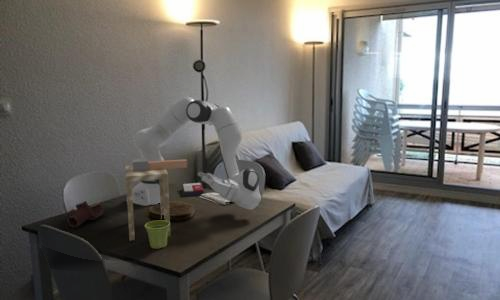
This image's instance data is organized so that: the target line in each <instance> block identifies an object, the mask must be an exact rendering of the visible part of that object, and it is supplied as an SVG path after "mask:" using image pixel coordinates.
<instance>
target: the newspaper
mask: <svg viewBox="0 0 500 300" xmlns="http://www.w3.org/2000/svg"><path fill="white" fill-rule="evenodd" d="M199 198H200V199H201V198H202V199H205V200H208V201H211V202H212V203H215V204H218V205H224V206H226V205H231V204H230V203H231V202H232V201H228V200H226V199H224V198H222V197H220V196H219V193H217V192H216V191H214V192H206V193H205V192H204V194H202V195H201V196H199ZM226 202H227V203H226Z"/></svg>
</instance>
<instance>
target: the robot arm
mask: <svg viewBox="0 0 500 300" xmlns="http://www.w3.org/2000/svg"><path fill="white" fill-rule="evenodd" d="M190 121H191V122H193V123H197V124H201V125H210V126H211V125H212V126H213V127H214V129H215V132H216V136H217V138H218V141H219V147H220V154H221V155H220V156H221V159H222V163H223V167H224V170H225V174H226V179H222V178H220V177H218V176H216V175H214V174H212V173H210V172H207V173H205V172H202V171H198V173H197V175H198V177H200V178H201V181H202V182H204V183H205V184H207V185H208V186H209V187H210V188H211V189H212V190H213V191H214V192H215V193H219V196H220V197H222V198H224V199H226V200H228V201H231V202H232V203H234V204H236V205H237V206H239V207H242V208H243V209H246V210H250V211H251V210H254V209H256V208H257V207H258V206H259V204H260V203H261V201H262V195H261V193H260V187H259V186H260V185H259V184H260V180H261V179H260V175H259V173H258V171H257V170H255V169H254V168H252V167H248V168H244V169H243V170H241V171H240V170H239V167H238V163H237V158H236V153H237V149H238V147H239V145H240V144H241V142H242V139H243V136H242V134H243V133H242V129H241V128H240V125H239V123H238V121H237V118H236V117H235V115H234V113H233V112H232V110H231V108H230V107H228V106H224V105H223V106H218V105H217V104H215V103H213V102H210V101H206V100H201V99H194V98H193V97H191V96H185V97H183V98H180V99H179V100H178V101H176V102H175V103H173V105H171V106H170V107H169V108H168V109H167V110H166V111H165V112H163V113H162V114H161V115H160V116H159V119H158V121H157V122H155V124H154V125H152V126H149V127H147V128H143V129H142V128H141V129H140V130H139V131H137V132H136V133H135V134H134V136H133V139H132V142H133V144H134V147H135V148H136V149H137V150H138V152H139V155H140V157H141V158H140V159H148V162H149V161H165V159H164V157H163V156H162V154H161V150H160V147H164V146H165V145H166V144H167V143H168V142H169V141H170V140H171V139H172V137H173V136H174V135H175V134H176V133H177V132H178V131H179V130H180V129H182V128H183V126H185V125H187V123H188V122H190ZM132 199H133V204H136V205H140V206H150V205H153V206H154V205H159V204H158V203H160V183H159V179H155V180H142V181H139V183H137V185H135V186H134V187H132ZM126 202H127V199H126Z"/></svg>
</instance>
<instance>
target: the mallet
mask: <svg viewBox="0 0 500 300" xmlns="http://www.w3.org/2000/svg"><path fill="white" fill-rule="evenodd" d="M132 165H133V172H138V171H149V170H156V169H166V170H169V169H181V168H184V169H185V168H188V160H187V159H186V158H184V159H167V160H166V159H164V161H149V162H148V159H142V158H137V159H136V158H135V159H134V158H133V159H132Z"/></svg>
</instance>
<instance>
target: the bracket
mask: <svg viewBox="0 0 500 300" xmlns="http://www.w3.org/2000/svg"><path fill="white" fill-rule="evenodd" d="M74 206H75V207H76V209H74V208H72V209H70V211H69V214H70V216H69V217H67V223H68V225H69V226H70V227H72V228H74V227H77V228H78V227H80V226H81V225H82V224H83V223H85V222H86V221H91V220H92V221H95V220H97V219H98V218H100V216H102V215H103V214H104V213H105V212H104V208H103V205H102V203H101V202H98V203H96V204H93V205H92V206H91V205H90V206H89V204H88V202H87V201H82V202H79V203H76V204H75V205H74ZM76 210H77V211H76ZM87 219H88V220H87Z"/></svg>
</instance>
